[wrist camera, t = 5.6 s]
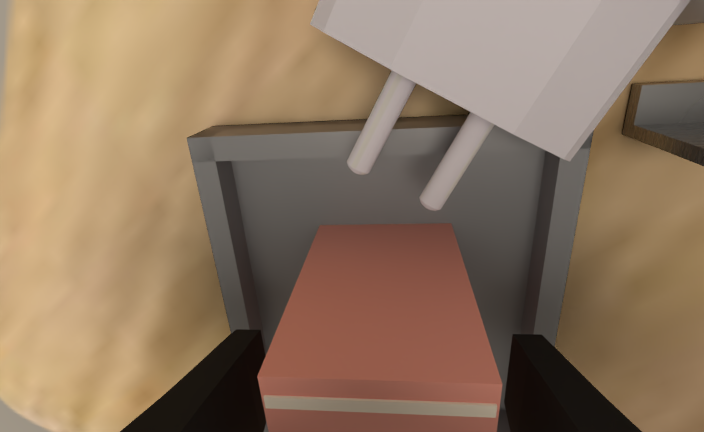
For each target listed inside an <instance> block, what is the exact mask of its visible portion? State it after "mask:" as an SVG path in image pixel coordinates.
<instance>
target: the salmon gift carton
mask: <svg viewBox="0 0 704 432" xmlns="http://www.w3.org/2000/svg"><path fill="white" fill-rule="evenodd" d="M257 378H258V383H259V387H260V392H261V397H262V402H263V407H264V412H265V417H266V422H267V427H268V431H269V432H497V425H498V417H499V409H500V401H501V392H502V381H501V378H500V375H499V372H498V369H497V365H496V362H495V359H494V356H493V353H492V350H491V347H490V343H489V340H488V337H487V334H486V331H485V328H484V325H483V321H482V318H481V315H480V312H479V309H478V306H477V303H476V299H475V296H474V293H473V290H472V287H471V284H470V281H469V277H468V274H467V271H466V268H465V265H464V262H463V259H462V255H461V252H460V249H459V246H458V243H457V240H456V237H455V234H454V230H453V227H452V224H451V223H437V224H363V225H320V226H319V228H318V231H317V233H316V235H315V238H314V240H313V243H312V245H311V248H310V250H309V252H308V255H307V257H306V260H305V262H304V265H303V267H302V269H301V272H300V274H299V277H298V279H297V281H296V284H295V286H294V289H293V291H292V294H291V296H290V298H289V301H288V303H287V306H286V308H285V311H284V313H283V315H282V318H281V320H280V323H279V325H278V327H277V330H276V332H275V335H274V337H273V340H272V342H271V344H270V347H269V349H268V352H267V354H266V357H265V359H264V361H263V364H262V366H261V369H260V371H259V373H258V376H257Z"/></svg>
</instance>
